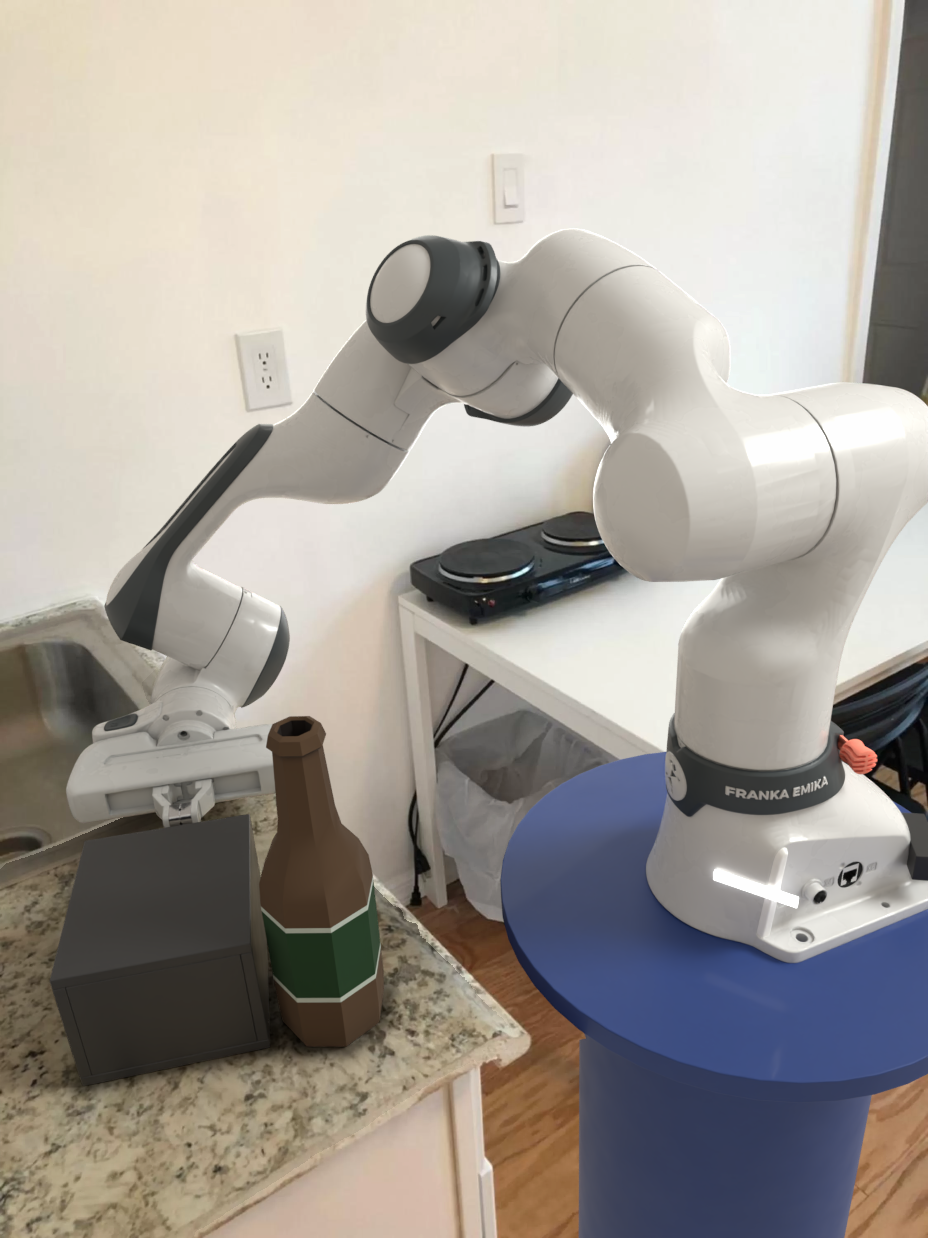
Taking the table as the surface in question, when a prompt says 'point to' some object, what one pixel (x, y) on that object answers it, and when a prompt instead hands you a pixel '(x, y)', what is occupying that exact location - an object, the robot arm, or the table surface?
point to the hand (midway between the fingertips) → (181, 824)
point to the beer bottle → (318, 900)
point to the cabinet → (164, 951)
